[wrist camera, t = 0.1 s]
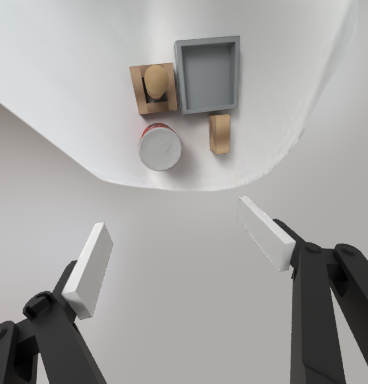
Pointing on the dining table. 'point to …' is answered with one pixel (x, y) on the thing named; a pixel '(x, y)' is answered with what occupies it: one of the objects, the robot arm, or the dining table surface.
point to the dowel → (156, 81)
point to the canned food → (159, 147)
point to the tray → (207, 73)
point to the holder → (144, 108)
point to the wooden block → (219, 133)
